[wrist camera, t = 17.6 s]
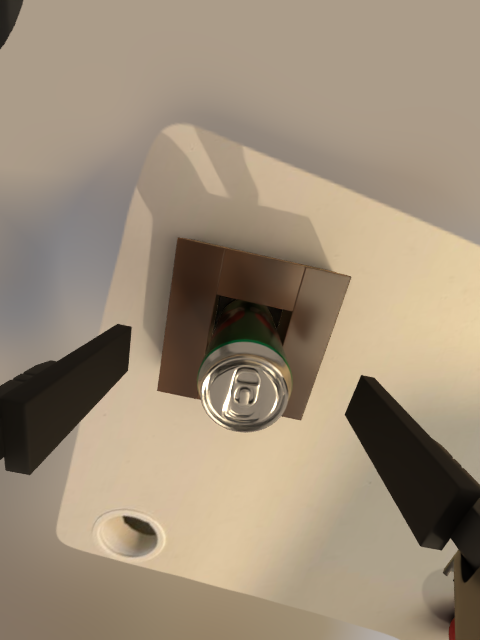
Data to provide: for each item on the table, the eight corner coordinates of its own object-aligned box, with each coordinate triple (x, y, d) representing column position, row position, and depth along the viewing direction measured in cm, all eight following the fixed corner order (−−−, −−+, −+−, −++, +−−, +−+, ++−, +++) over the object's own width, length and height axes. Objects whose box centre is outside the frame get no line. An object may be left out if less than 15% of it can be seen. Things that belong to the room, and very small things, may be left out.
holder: (170, 368, 25) (156, 391, 21) (190, 239, 21) (177, 237, 17) (293, 394, 25) (301, 420, 21) (333, 271, 22) (351, 276, 18)
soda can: (217, 343, 24) (189, 432, 12) (222, 293, 22) (195, 341, 11) (268, 349, 24) (286, 444, 12) (276, 300, 22) (306, 355, 11)
